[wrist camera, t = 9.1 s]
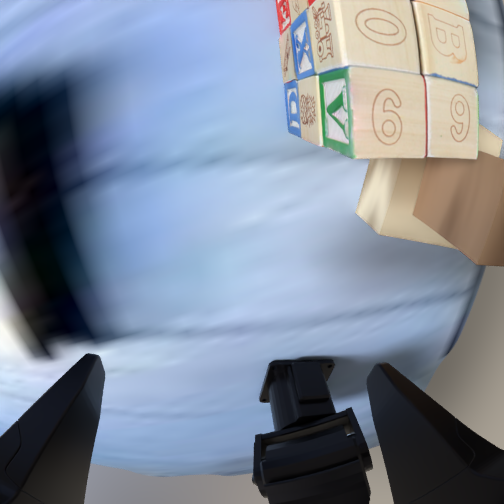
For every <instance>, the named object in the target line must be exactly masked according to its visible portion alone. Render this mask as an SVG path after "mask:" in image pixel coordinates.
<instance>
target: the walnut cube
mask: <svg viewBox="0 0 504 504" xmlns="http://www.w3.org/2000/svg"><path fill="white" fill-rule="evenodd" d="M412 215H413V216H415V217H416V218H417V219H419V220H420V221H422V222H423V223H424V224H426V225H427V226H428V227H430V228H431V229H432V230H434V231H435V232H436V233H438V234H439V235H440V236H442V237H443V238H444V239H446V240H447V241H448V242H449V243H451V244H452V245H453V246H454V247H456V248H457V249H458V250H459V251H461V252H462V253H463V254H464V255H466V256H467V257H468V258H469V259H470V260H472V261H473V262H474V263H475V264H476V265H489V266H504V160H503V159H501V158H498V157H496V156H493V155H490V154H488V153H485V152H482V151H479V150H478V157H477V159H461V158H438V157H427V161H426V165H425V170H424V174H423V178H422V182H421V186H420V189H419V193H418V197H417V201H416V204H415V208H414V211H413V214H412Z"/></svg>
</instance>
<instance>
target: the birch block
mask: <svg viewBox="0 0 504 504" xmlns="http://www.w3.org/2000/svg"><path fill="white" fill-rule="evenodd" d="M502 141H503V140H501V139H500V138H499V137H497V136H496V135H495V134H493V133H492V132H490V131H489V130H487V129H486V128H485V127H483V126H482V125H480V124H479V139H478V150H479V151H482V152H485V153H488V154H490V155H493V156H496V157H498V158H499V155H500V150H501V146H502ZM426 161H427V157H424V158H378V159H370V161H369V165H368V169H367V173H366V177H365V180H364V184H363V188H362V191H361V195H360V198H359V202H358V205H357V208H356V212H355V213H356V214H357V215H358V216H359V217H361V218H362V219H363V220H364V221H365V222H366V223H367V224H368V225H369V226H370V227H371V228H372V229H373V230H374V231H375V232H377V233H378V234H379V235H383V236H389V237H395V238H401V239H406V240H412V241H417V242H423V243H428V244H433V245H439V246H444V247H449V248H454V249H457V248H456V247H454V246H453V245H452V244H451V243H449V242H448V241H447V240H446V239H444V238H443V237H442V236H440V235H439V234H438V233H436V232H435V231H434V230H432V229H431V228H430V227H428V226H427V225H426V224H424V223H423V222H422V221H420V220H419V219H417V218H416V217H415V216H413V215H412V214H413V211H414V208H415V204H416V201H417V197H418V193H419V189H420V186H421V182H422V178H423V174H424V170H425V165H426Z"/></svg>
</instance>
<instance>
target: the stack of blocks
mask: <svg viewBox="0 0 504 504" xmlns="http://www.w3.org/2000/svg"><path fill="white" fill-rule="evenodd" d="M276 7H277V14H278V21H279V29H280V35H281V36H280V38H279V46H280V56H281V65H282V75H283V82H284V86H285V101H286V111H287V122H288V131H289V133H291V134H294V135H296V136H298V137H300V138H303V139H304V140H306V141H308V142H311V143H313V144H315V145H318V146H321V147H326V148H328V149H330V150H333V151H335V152H338V153H340V154H343V155H345V156H347V157H349V158H352V159H378V158H424V157H438V158H461V159H477V157H478V139H479V104H478V93H477V90H476V88H477V87H478V83H479V82H478V70H477V61H476V52H475V45H474V39H473V33H472V28H471V24H470V22H469V11H468V8H467V4H466V0H276Z"/></svg>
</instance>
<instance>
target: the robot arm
mask: <svg viewBox="0 0 504 504" xmlns="http://www.w3.org/2000/svg"><path fill="white" fill-rule="evenodd" d="M334 366H335V364H334V361H333V360H317V361H274V362H271V363H269V365H268V369H267V372H266V376H265V379H264V383H263V386H262V389H261V393H260V396H259V400H260V402H262V403H269V402H270V405H271V411H272V417H273V423H274V429H275V431H274V432H270V433H266V434H257V435H255V442H254V468H253V477H252V481H253V483H254V484H255V485H257V486H258V488H259V491H260V493H261V495H262V496H263V497H264V498H268V500H269V504H369V501H370V494H371V491H370V487H369V483H368V480H367V476H366V471H369V470H372V469H373V465H372V460H371V456H370V453H369V449H368V446H367V443H366V441H365V438H364V436H363V433H362V431H361V429H360V426H359V424H358V421H357V419H356V417H355V414H354V412H353V410H352V407H350V408H347V409H346V410H345V411H342V412H339V413H336V411H335V408H334V405H333V402H332V399H331V394H330V391H329V388H328V385H327V380H328V378H329V376H330V374H331V372H332V370H333V368H334ZM104 382H105V371H104V368H103V365H102V361H101V358H100V356H99V355H96V354H90V353H88V354H86V355H84V356H83V357H82V358H81V359H80V360H79V361H78V362H77V363H76V364H75V365H74V366H73V367H71V368H70V369H69V370H68V371H67V372H66V373H65V374H64V375H63V376H62V377H61V378H60V379H59V380H58V381H57V382H56V383H55V384H54V385H53V386H52V387H50V388H49V389H48V390H47V391H46V392H45V393H44V394H43V395H42V396H41V397H40V398H39V399H38V400H37V401H36V402H35V403H34V404H33V405H32V406H31V407H30V408H29V409H28V410H27V411H26V412H25V413H24V414H23V415H22V416H21V417H20V418H19V419H18V421H16V422H15V423H14V424H13V425H12V426H11V427H10V428H9V429H8V430H7V431H6V432H5V433H4V434H3V435H2V436H1V437H0V504H84V499H85V492H86V485H87V479H88V473H89V468H90V462H91V457H92V452H93V447H94V442H95V438H96V433H97V429H98V424H99V419H100V412H101V404H102V396H103V388H104ZM367 389H368V394H369V400H370V405H371V411H372V417H373V421H374V425H375V429H376V432H377V436H378V440H379V443H380V447H381V451H382V455H383V459H384V463H385V467H386V470H387V475H388V479H389V483H390V487H391V492H392V496H393V501H394V504H504V450H502V449H500V448H498V447H496V446H495V445H493V444H492V443H490V442H489V441H487V440H486V439H484V438H482V437H481V436H479V435H478V434H477V433H475V432H474V431H472V430H471V429H470V428H468V427H467V426H466V425H464V424H463V423H462V422H461V421H459V420H458V419H457V418H455V417H454V416H453V415H452V414H451V413H449V412H448V411H447V410H446V409H444V408H443V407H442V406H441V405H439V404H438V403H437V402H436V401H434V400H433V399H432V398H431V397H429V396H428V395H427V394H426V393H425V392H423V391H422V390H421V389H420V388H418V387H417V386H416V385H415V384H413V383H412V382H411V381H410V380H408V379H407V378H406V377H405V376H404V375H402V374H401V373H400V372H399V371H397V370H396V369H395V368H394V367H392V366H391V365H390V364H389V363H386V362H383V363H377V364H376V365H375V366H374V368H373V369H372V371H371V373H370V374H369V376H368V378H367ZM347 434H351V435H348V436H347Z"/></svg>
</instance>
